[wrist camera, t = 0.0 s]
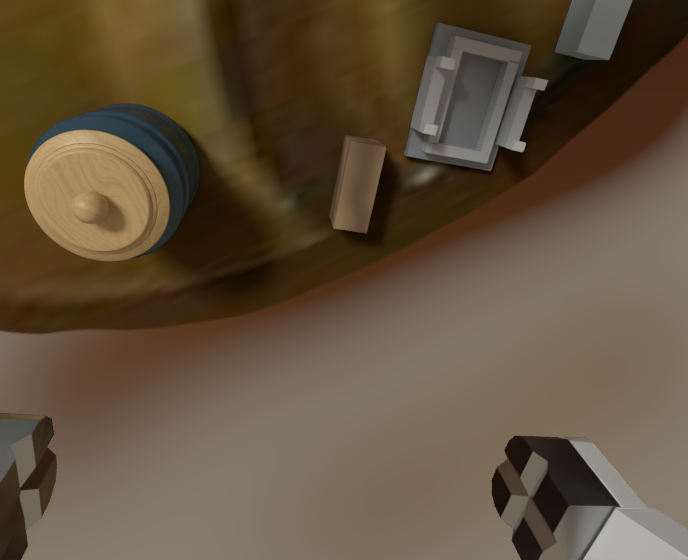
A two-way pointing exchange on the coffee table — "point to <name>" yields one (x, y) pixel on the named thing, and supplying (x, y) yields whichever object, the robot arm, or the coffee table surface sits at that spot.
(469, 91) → the jig
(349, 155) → the tan cardboard carton
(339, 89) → the coffee table surface
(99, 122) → the canister
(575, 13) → the pale grey upright block
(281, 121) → the coffee table surface
